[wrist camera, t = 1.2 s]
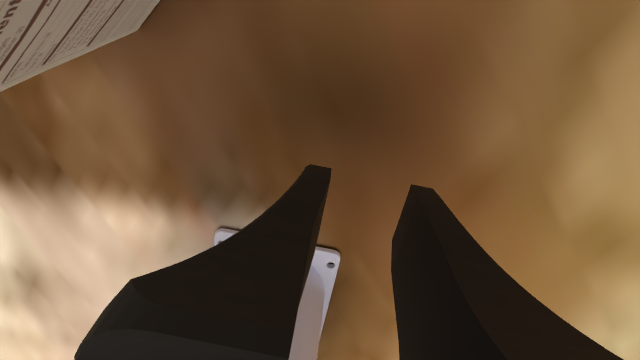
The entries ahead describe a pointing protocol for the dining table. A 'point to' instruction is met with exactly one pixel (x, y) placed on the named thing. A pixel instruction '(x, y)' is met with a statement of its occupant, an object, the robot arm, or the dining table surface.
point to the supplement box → (60, 32)
